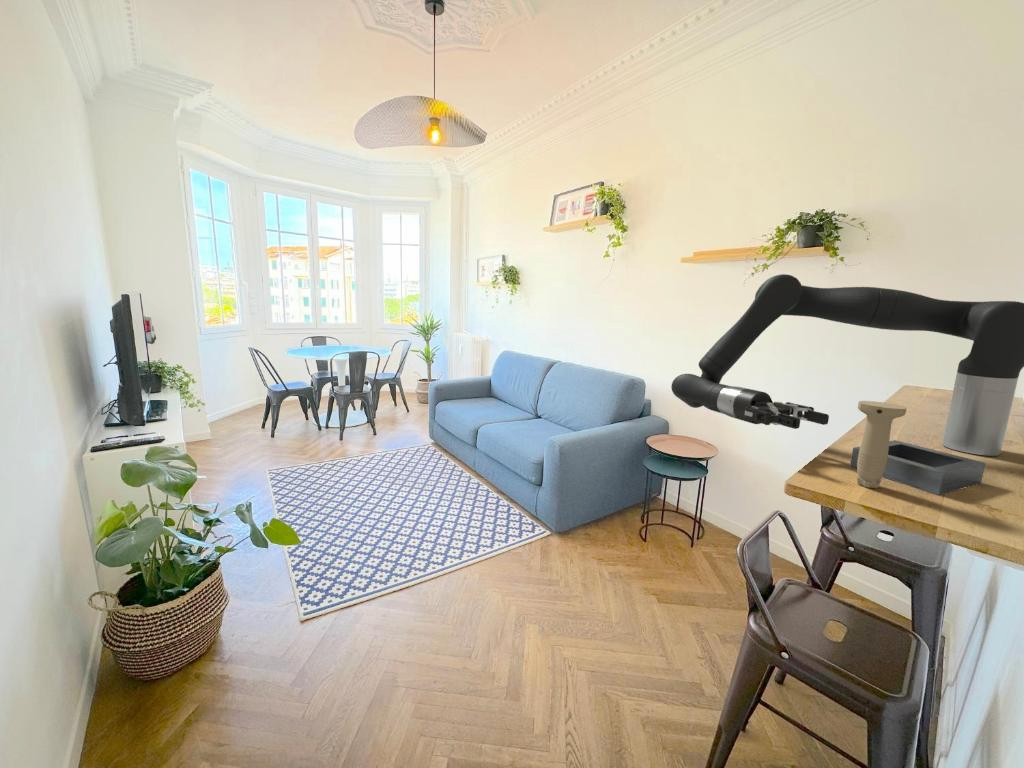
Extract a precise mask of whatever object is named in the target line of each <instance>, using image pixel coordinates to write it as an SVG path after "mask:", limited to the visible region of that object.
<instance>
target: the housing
mask: <svg viewBox="0 0 1024 768" xmlns="http://www.w3.org/2000/svg"><path fill="white" fill-rule="evenodd" d="M859 450H860V446H854V447H853V448H852V454H851V460H850V465H849V466H851V467H850V468H853V469H856V468H857V463H858V456H859ZM887 458H888V459H887V464H886V468H885V471H884V474H883V477H882V478H884V479H886V480H887V479H888V480H890V481H894V482H897V483H900V484H903V485H905V484H906V485H905V486H908V485H909V487H911V488H915V489H919V490H921V491H924V492H927V493H931V494H933V495H936V496H940V495H944V494H949V493H952V492H955V490H956V491H958V489H959V490H962V489H961V488H963V489H965V488H964V487H967V488H969V487H968V486H970V487H973V486H972V485H974V486H976V484H977V485H980V484H979V483H981V484H982V480H983V477H984V472H985V468H986V462H984V461H979V460H975V459H971V458H968V457H964V456H960V455H955V454H952V453H948V452H943V451H939V450H935V449H932V448H928V447H924V446H920V445H916V444H912V443H908V442H904V441H900V440H896V439H895V440H893V439H892V440H889V450H888V457H887Z"/></svg>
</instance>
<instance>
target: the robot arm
mask: <svg viewBox="0 0 1024 768" xmlns="http://www.w3.org/2000/svg"><path fill="white" fill-rule="evenodd" d="M782 316H794V317H795V316H796V317H811V318H818V319H821V320H826V321H831V322H835V323H840V324H848V325H853V326H857V327H858V326H859V327H865V328H871V329H872V328H873V329H879V330H888V331H889V330H890V331H904V332H905V331H909V332H910V331H911V332H912V331H913V332H916V331H917V332H918V331H920V332H921V331H922V332H932V333H939V334H944V335H949V336H952V337H958V338H963V339H967V340H970V341H973V342H972V346H971V350H970V352H969V353H968V355H967V356H966V357H965V358H963V359H961V360H960V361H959V362H958V364H957V365H958V366H957V370H956V375H955V381H954V384H953V389H952V394H951V399H950V404H949V409H948V413H947V418H946V423H945V427H944V428H945V429H944V433H943V436H942V437H943V438H942V442H941V445H942V446H943V447H946V448H949V449H951V450H954V451H958V452H961V453H967V454H971V455H972V454H973V455H979V456H988V457H989V456H990V457H991V456H992V457H995V456H996V457H997V456H1000V455H1001V452H1002V448H1003V444H1004V439H1005V437H1006V436H1005V435H1006V432H1007V428H1008V424H1009V419H1010V416H1011V410H1012V408H1013V407H1012V406H1013V401H1014V397H1015V394H1016V388H1017V384H1018V381H1019V377H1020V373H1021V371H1022V370H1023V368H1024V302H1022V301H1015V300H1011V301H1010V300H993V301H992V300H991V301H989V300H988V301H964V300H963V301H962V300H960V301H959V300H947V299H938V298H933V297H931V296H930V297H929V296H927V295H923V294H919V293H915V292H911V291H907V290H900V289H893V288H882V287H874V286H851V287H850V286H844V287H828V288H827V287H814V286H809V285H804V284H802V283H801V281H800V280H799V279H798V278H797V277H795V276H793V275H792V274H791V275H790V274H785V273H781V274H777V275H774V276H771V277H769V278H767V279H766V280H765V281H764V282H763V283H762V284H761V285H760V286H759V287H758V289H757V290H756V292H755V294H754V300H753V301H752V303H751V305H749V307H748V309H747V310H746V311H745V312H744V314H743V315H742V316H740V318H739V319H738V320H737V321H736V322H735V324H733V325H732V327H731V328H729V329H728V330H727V331H726V332H725V333H724V334H723V335H722V336H721V337H720V338H719V339H718V340H717V341H716V342H715V343H714V344H713V345H712V346H711V347H710V349H709V350H708V351H707V352H706V353H705V354H704V356H702V358H701V359H700V360H699V362H698V368H699V369H700V370H701V376H698V375H696V374H692V373H682V374H680V375H677V376H676V377H675V378H674V379H673V381H672V382H671V391H672V394H673V395H674V396H675V397H676V398H677V399H678V400H679V399H680V401H682V402H683V403H685V404H686V406H689V408H690V407H691V408H694V409H698V408H701V407H704V408H706V409H708V410H710V411H713V412H716V413H719V414H722V415H725V416H728V417H730V418H733V419H736V420H739V421H743V422H747V423H748V424H754V425H760V424H762V425H765V426H770V425H771V424H772V425H774V426H784V427H787V428H791V429H796V430H797V429H799V428H800V426H801V421H806V422H811V423H815V424H818V425H819V424H820V425H828V423H829V419H830V415H829V414H828V413H824V412H820V411H815V407H813V406H807V405H802V404H797V403H794V402H793V403H792V402H790V401H788V402H785V403H784V402H782V401H774V402H773V400H772V398H771V395H770V394H769V393H767V392H765V391H760V390H757V389H756V390H755V389H751V388H746V387H742V386H732V385H728V384H723V383H721V381H722V379H723V377H724V376H725V375H726V374H727V373H728V372H729V370H730V369H732V368H733V366H734V365H735V364H737V362H738V361H739V359H740V358H741V357H742V356H743V355H744V353H745V352H747V350H748V349H749V348H750V346H752V345H753V343H754V342H755V341H756V340H757V339H758V338H759V337H760V335H761V334H762V333H764V331H766V329H767V328H768V327H770V326H771V325H772V324H774V322H776V321H777V320H778V319H780V317H782Z"/></svg>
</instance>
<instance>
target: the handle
mask: <svg viewBox="0 0 1024 768" xmlns="http://www.w3.org/2000/svg"><path fill="white" fill-rule="evenodd" d="M857 409H858V410H859V411H860V412H861V413H863V414H865V415H866V422H865V427H864V431H863V435H862V439H861V443H860V446H859V447H860V450H859V456H858V463H857V469H856V471H857V472H856V473H857V477H856V483H857V485H860V486H863V487H865V488H872V489H878V488H879V486H880V484H881V483H882V479H883V478H884V477H883V474H884V471H885V468H886V464H887V459H888V458H887V457H888V450H889V441H890V439H891V437H890V436H891V429H892V424H893V422H894V421H893V420H895V419H897V418H901V417H904V416H906V414H907V409H908V407H907V406H904V405H899V404H895V403H889V402H888V403H887V402H883V401H881V402H880V401H871V400H859V401H858V405H857Z"/></svg>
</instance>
